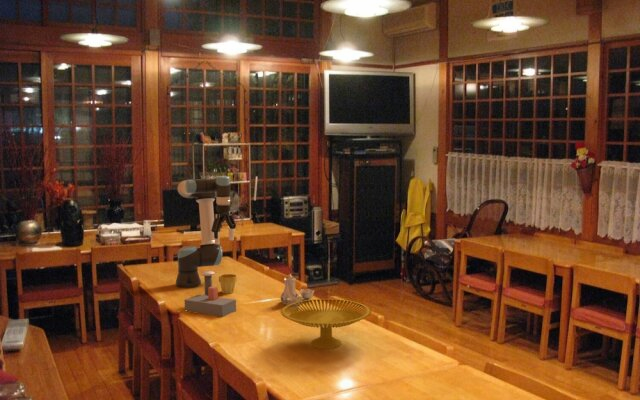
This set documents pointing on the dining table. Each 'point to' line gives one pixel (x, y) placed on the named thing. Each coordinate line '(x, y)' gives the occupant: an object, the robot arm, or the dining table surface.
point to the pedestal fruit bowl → (325, 318)
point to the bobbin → (207, 280)
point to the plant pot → (227, 282)
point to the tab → (212, 293)
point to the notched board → (210, 305)
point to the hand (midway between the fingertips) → (224, 242)
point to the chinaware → (294, 292)
